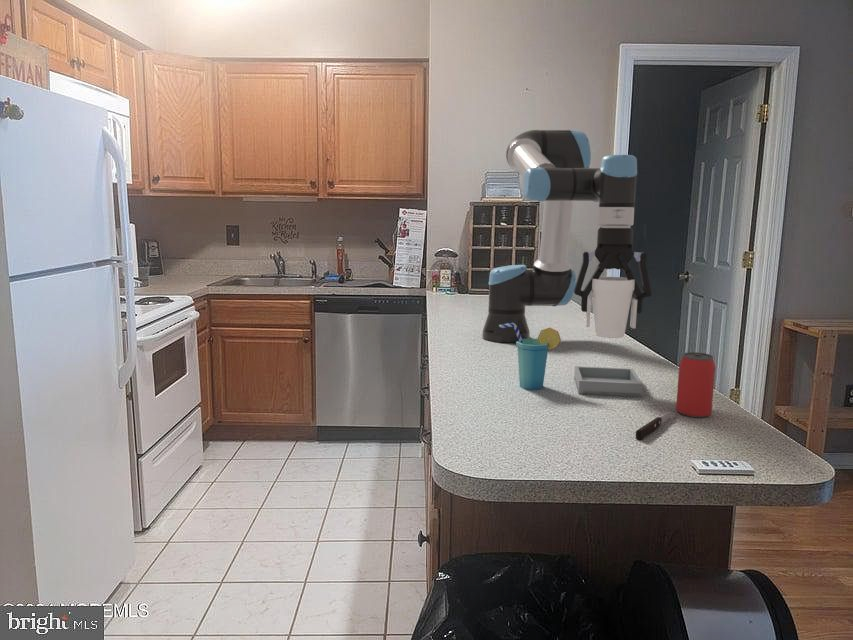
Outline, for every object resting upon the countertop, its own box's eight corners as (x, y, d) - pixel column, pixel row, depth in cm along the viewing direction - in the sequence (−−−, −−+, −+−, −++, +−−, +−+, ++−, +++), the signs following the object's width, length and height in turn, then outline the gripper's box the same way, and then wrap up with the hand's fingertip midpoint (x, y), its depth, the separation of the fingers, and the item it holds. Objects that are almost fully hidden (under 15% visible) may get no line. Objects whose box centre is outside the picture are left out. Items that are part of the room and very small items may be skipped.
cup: (498, 390, 139) (499, 325, 136) (496, 381, 147) (498, 319, 144) (560, 392, 138) (563, 326, 136) (555, 382, 146) (558, 320, 143)
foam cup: (633, 340, 135) (637, 281, 132) (589, 338, 136) (592, 280, 134) (628, 332, 144) (631, 277, 142) (587, 330, 146) (590, 276, 143)
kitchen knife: (640, 442, 108) (641, 431, 108) (635, 440, 109) (635, 430, 109) (675, 417, 122) (676, 407, 122) (670, 416, 123) (671, 406, 122)
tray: (574, 378, 150) (574, 366, 149) (632, 380, 148) (632, 368, 147) (578, 393, 137) (579, 380, 136) (642, 397, 135) (643, 383, 134)
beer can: (709, 410, 126) (714, 353, 124) (712, 420, 120) (718, 360, 118) (674, 406, 128) (679, 350, 126) (676, 416, 122) (681, 357, 120)
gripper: (565, 226, 134) (561, 327, 138) (671, 227, 131) (664, 331, 134) (563, 226, 141) (559, 322, 145) (663, 227, 138) (657, 325, 142)
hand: (609, 326), depth 140 cm, fingers closed on foam cup, 9 cm apart
